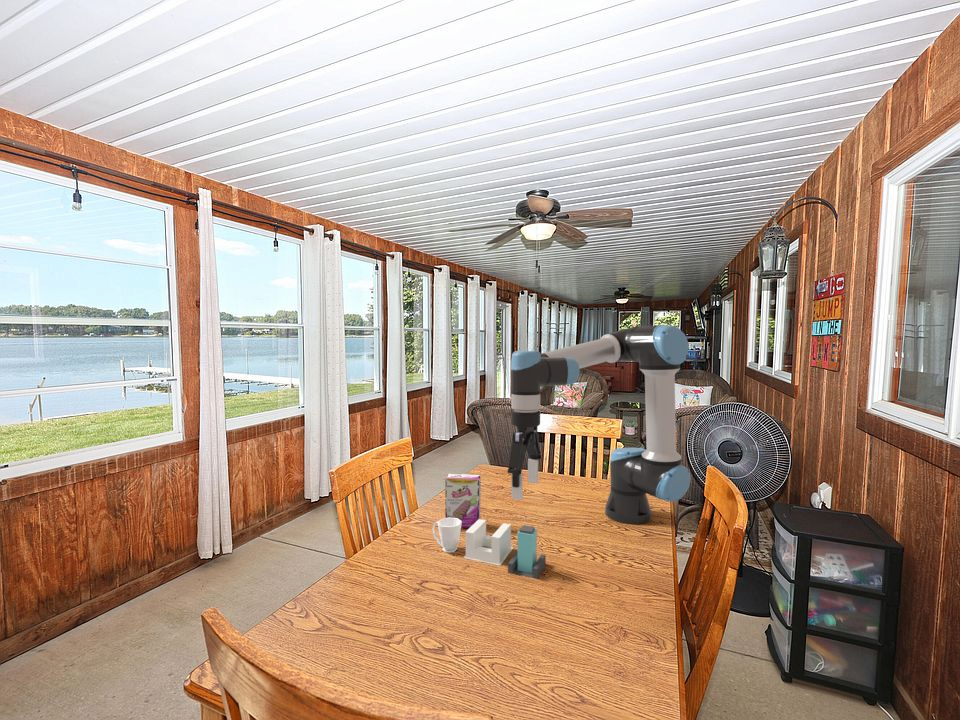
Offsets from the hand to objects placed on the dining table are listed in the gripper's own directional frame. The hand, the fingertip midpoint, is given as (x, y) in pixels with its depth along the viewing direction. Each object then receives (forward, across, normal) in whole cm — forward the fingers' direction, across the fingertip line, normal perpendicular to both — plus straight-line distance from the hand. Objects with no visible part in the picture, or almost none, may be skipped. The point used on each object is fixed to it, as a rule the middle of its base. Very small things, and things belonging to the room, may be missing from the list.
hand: (525, 490), depth 115 cm
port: (+21, -4, -12) cm, 24 cm away
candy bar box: (+21, -18, -27) cm, 39 cm away
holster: (+21, 0, +1) cm, 21 cm away
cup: (+21, -2, -25) cm, 33 cm away
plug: (+20, 0, +1) cm, 20 cm away
